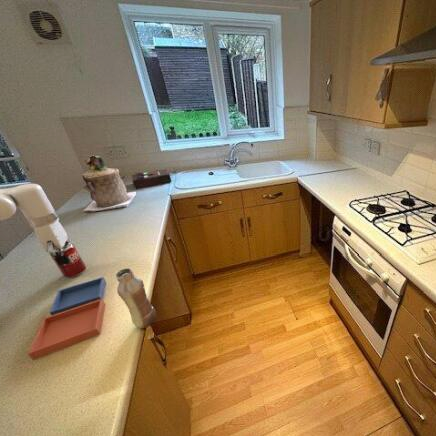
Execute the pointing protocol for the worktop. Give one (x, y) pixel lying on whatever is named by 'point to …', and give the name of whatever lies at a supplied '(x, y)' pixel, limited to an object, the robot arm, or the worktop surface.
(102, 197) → the cookie jar
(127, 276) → the plastic bottle
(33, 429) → the worktop surface
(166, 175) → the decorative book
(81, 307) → the terracotta tray
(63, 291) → the blue tray
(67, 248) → the soda can
